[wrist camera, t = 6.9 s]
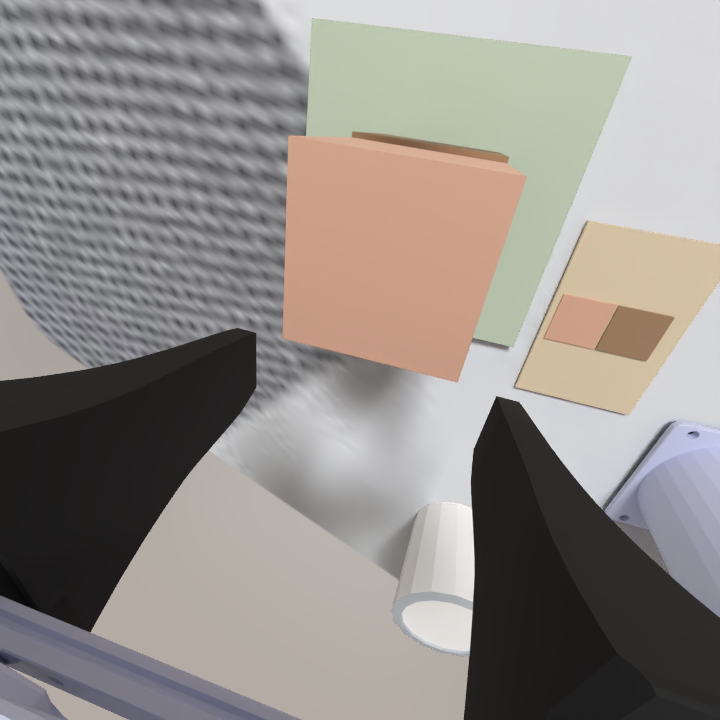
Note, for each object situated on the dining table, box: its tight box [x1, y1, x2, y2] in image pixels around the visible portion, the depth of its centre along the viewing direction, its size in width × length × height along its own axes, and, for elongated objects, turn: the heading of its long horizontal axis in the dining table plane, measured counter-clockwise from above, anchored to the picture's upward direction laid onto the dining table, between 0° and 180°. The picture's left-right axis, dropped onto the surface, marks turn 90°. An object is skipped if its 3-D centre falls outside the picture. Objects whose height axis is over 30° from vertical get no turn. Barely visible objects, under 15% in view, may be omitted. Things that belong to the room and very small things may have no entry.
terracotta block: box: [283, 136, 527, 382], centre depth 11 cm, size 5×5×5 cm
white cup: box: [391, 502, 475, 656], centre depth 25 cm, size 7×7×7 cm
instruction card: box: [515, 220, 720, 415], centre depth 18 cm, size 6×9×1 cm, turn 172°
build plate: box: [306, 18, 632, 347], centre depth 17 cm, size 12×12×1 cm
